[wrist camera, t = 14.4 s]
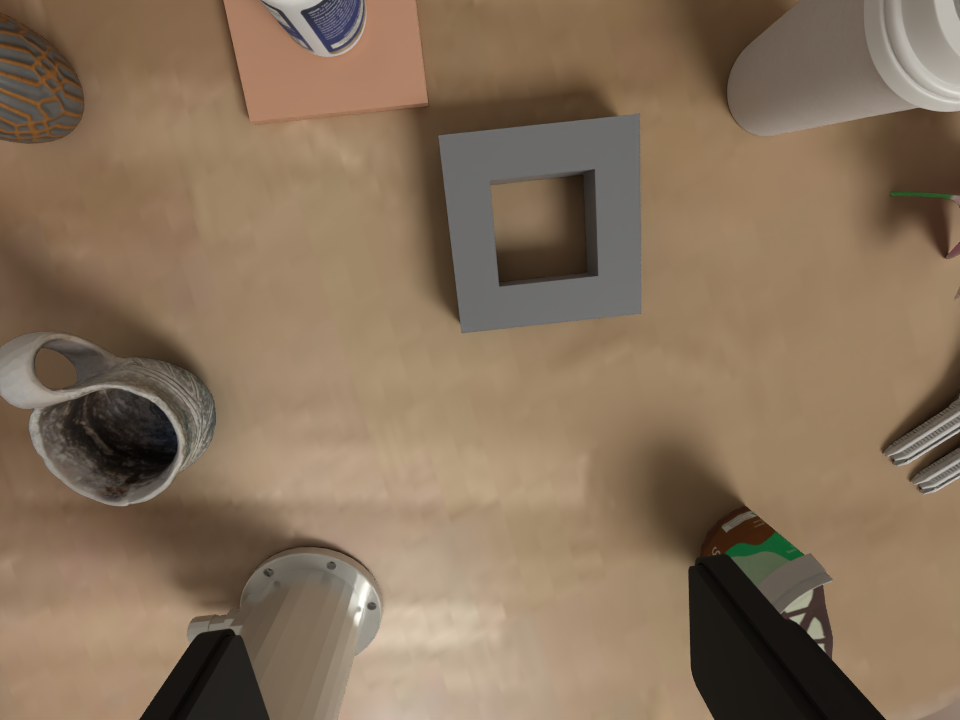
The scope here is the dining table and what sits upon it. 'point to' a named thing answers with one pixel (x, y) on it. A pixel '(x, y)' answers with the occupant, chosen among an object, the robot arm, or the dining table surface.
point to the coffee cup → (847, 64)
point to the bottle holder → (608, 220)
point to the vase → (35, 87)
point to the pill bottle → (321, 23)
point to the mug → (109, 417)
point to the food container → (775, 570)
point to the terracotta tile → (328, 65)
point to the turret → (925, 439)
